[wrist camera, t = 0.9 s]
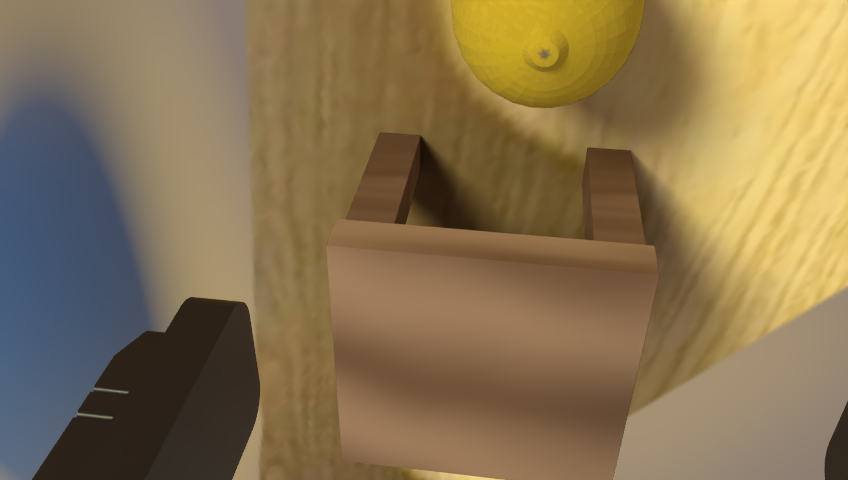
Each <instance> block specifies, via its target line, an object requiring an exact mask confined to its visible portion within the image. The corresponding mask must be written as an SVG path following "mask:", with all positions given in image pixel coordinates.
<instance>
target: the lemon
mask: <svg viewBox="0 0 848 480" xmlns="http://www.w3.org/2000/svg"><path fill="white" fill-rule="evenodd" d="M644 4H645V2H644V0H451V7H452V19H453V30H454V33H455V36H456V39H457V42H458V45H459V48H460V51H461V54H462V56H463V58H464V59H465V61H466V62H467V64H468V66H469V67H470V69H471V70H472V72H473V73H474V75H475V76H476V77H477V78H478V79H479V80H480V81H481V82H482V83H483V84H484V85H485V86H486V87H488V88H489V89H490V90H491V91H492V92H494V93H496V94H497V95H499V96H501V97H503V98H505V99H507V100H509V101H510V102H513V103H517V104H520V105H524V106H528V107H536V108H553V107H558V106H563V105H568V104H572V103H574V102H577V101H579V100H581V99H583V98H585V97H588V96H590V95H592V94H593V93H595V92H596V91H597V90H599V89H600V88H601V87H603V86H604V85H605V84H606V83H608V82H609V81H610V80H611V79H612V78H613V76H614V75H615V74H616V73H617V72H618V70H619V69H620V68H621V67H622V65H623V64H624V63H625V62H626V60H627V58H628V56H629V54H630V52H631V50H632V48H633V46H634V44H635V41H636V39H637V37H638V35H639V32H640V27H641V21H642V16H643V11H644Z"/></svg>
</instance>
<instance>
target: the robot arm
mask: <svg viewBox="0 0 848 480" xmlns="http://www.w3.org/2000/svg"><path fill="white" fill-rule="evenodd" d="M94 387H95V388H94V391H93V392H90V393H89V395H88V396H87V398H86V399H85V401H84V402H83V404H82V405H81V407H80V408H79V410H78V415H77V417H76V418H73V419H72V420H71V422H70V423H69V425H68V426H67V428H66V429H65V431H64V432H63V434H62V435H61V437H60V438H59V440H58V441H57V443H56V444H55V446H54V447H53V449H52V450H51V452H50V453H49V455H48V456H47V458H46V459H45V461H44V462H43V464H42V465H41V467H40V468H39V470H38V471H37V473H36V474H35V476H34V477H33V479H32V480H232V479H233V476H234V473H235V471H236V469H237V466H238V464H239V461H240V459H241V456H242V454H243V452H244V449H245V447H246V444H247V442H248V440H249V437H250V435H251V432H252V430H253V427H254V424H255V421H256V417H257V413H258V407H259V399H260V381H259V374H258V367H257V361H256V354H255V347H254V341H253V334H252V327H251V321H250V314H249V310H248V307H247V305H246V304H245V303H244V302H237V301H227V300H216V299H206V298H195V297H190V298H188V299H186V300H185V301H184V303H183V304H182V305H181V307H180V309H179V310H178V312H177V314H176V315H175V317H174V319H173V320H172V322H171V323H170V325H169V327H168V328H167V330H166V332H165V333H163V332H154V331H146V332H144V333H143V334H142V335H140V336H139V337H138V338H136V339H135V340H134V341H133V342H131V343H130V344H129V345H127V346H126V347H125V348H124V349H122V350H121V351H120V352H118V353H117V354H116V355H114V357H113V359H112V360H111V362H110V363H109V365H108V366H107V368H106V369H105V371H104V372H103V374H102V375H101V376H100V378H99V380H98V381H97V383H96V384H95V386H94ZM825 480H848V402H847V404H846V407H845V409H844V411H843V413H842V415H841V418H840V420H839V422H838V424H837V427H836V429H835V431H834V433H833V436H832V438H831V440H830V442H829V445H828V448H827V452H826V458H825Z"/></svg>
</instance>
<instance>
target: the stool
mask: <svg viewBox="0 0 848 480" xmlns="http://www.w3.org/2000/svg"><path fill="white" fill-rule="evenodd" d="M419 174H420V135H406V134H392V133H379V136H378V139H377V141H376V144H375V146H374V149H373V151H372V154H371V156H370V159H369V161H368V164H367V166H366V169H365V172H364V174H363V177H362V179H361V182H360V184H359V187H358V189H357V192H356V194H355V197H354V199H353V202H352V205H351V207H350V210H349V212H348V215H347V217H346V220H345V219H337V221H336V223H335V226H334V228H333V230H332V233H331V235H330V238H329V240H328V243H327V245H326V248H327V262H328V275H329V289H330V302H331V316H332V329H333V343H334V356H335V370H336V383H337V396H338V410H339V423H340V437H341V450H342V461H351V462H359V463H368V464H376V465H385V466H393V467H402V468H410V469H419V470H427V471H436V472H444V473H453V474H462V475H470V476H479V477H487V478H496V479H504V480H613V477H614V473H615V468H616V464H617V460H618V455H619V451H620V446H621V442H622V437H623V433H624V429H625V424H626V420H627V416H628V411H629V407H630V403H631V398H632V394H633V390H634V385H635V381H636V376H637V372H638V368H639V363H640V359H641V354H642V350H643V346H644V341H645V337H646V333H647V328H648V324H649V319H650V315H651V311H652V306H653V302H654V298H655V293H656V289H657V284H658V280H659V276H660V274H659V269H658V263H657V257H656V252H655V246H652V245H646V243H645V237H644V231H643V224H642V218H641V212H640V206H639V200H638V194H637V188H636V181H635V175H634V169H633V163H632V157H631V151H626V150H613V149H599V148H587V155H586V162H585V169H584V176H583V183H582V188H583V206H584V224H585V240H581V239H569V238H557V237H545V236H534V235H522V234H510V233H498V232H486V231H475V230H463V229H451V228H439V227H427V226H416V225H405V224H406V220H407V217H408V213H409V210H410V206H411V203H412V199H413V195H414V192H415V188H416V185H417V181H418V177H419Z"/></svg>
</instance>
